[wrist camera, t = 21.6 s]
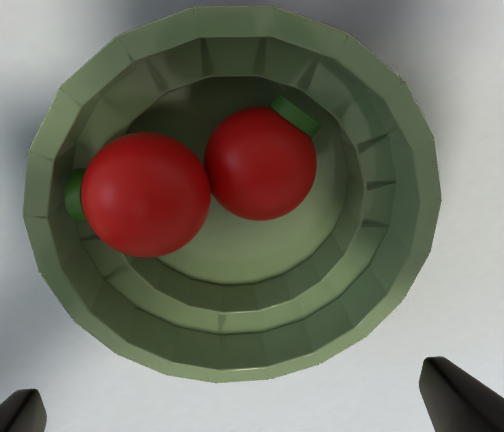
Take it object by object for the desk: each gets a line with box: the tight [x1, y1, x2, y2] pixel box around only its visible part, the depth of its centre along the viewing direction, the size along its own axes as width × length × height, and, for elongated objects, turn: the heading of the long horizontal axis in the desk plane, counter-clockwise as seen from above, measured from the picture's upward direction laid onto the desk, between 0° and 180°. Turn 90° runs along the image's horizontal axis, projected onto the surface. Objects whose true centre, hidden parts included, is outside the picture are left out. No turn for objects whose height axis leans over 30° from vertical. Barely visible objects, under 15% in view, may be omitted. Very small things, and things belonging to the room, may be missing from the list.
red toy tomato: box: [64, 132, 211, 257], centre depth 14 cm, size 4×4×5 cm
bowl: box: [23, 6, 442, 383], centre depth 16 cm, size 15×15×5 cm
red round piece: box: [203, 93, 321, 221], centre depth 15 cm, size 4×4×5 cm
